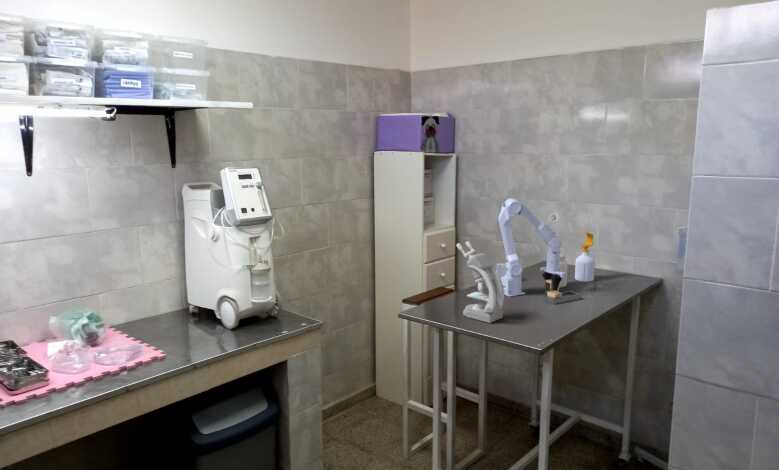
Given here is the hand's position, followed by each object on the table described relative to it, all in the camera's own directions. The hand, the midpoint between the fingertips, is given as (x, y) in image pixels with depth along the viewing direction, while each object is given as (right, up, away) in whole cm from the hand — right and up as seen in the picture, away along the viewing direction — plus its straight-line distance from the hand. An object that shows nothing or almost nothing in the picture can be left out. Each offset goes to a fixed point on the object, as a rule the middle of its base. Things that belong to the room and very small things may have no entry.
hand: (552, 289), depth 258 cm
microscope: (-39, -8, -31) cm, 50 cm away
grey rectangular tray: (+1, -4, -11) cm, 12 cm away
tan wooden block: (0, -2, 0) cm, 2 cm away
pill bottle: (+6, 0, +12) cm, 14 cm away
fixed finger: (-3, -3, -13) cm, 14 cm away
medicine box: (-18, +2, +23) cm, 29 cm away
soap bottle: (+23, +3, +22) cm, 32 cm away
